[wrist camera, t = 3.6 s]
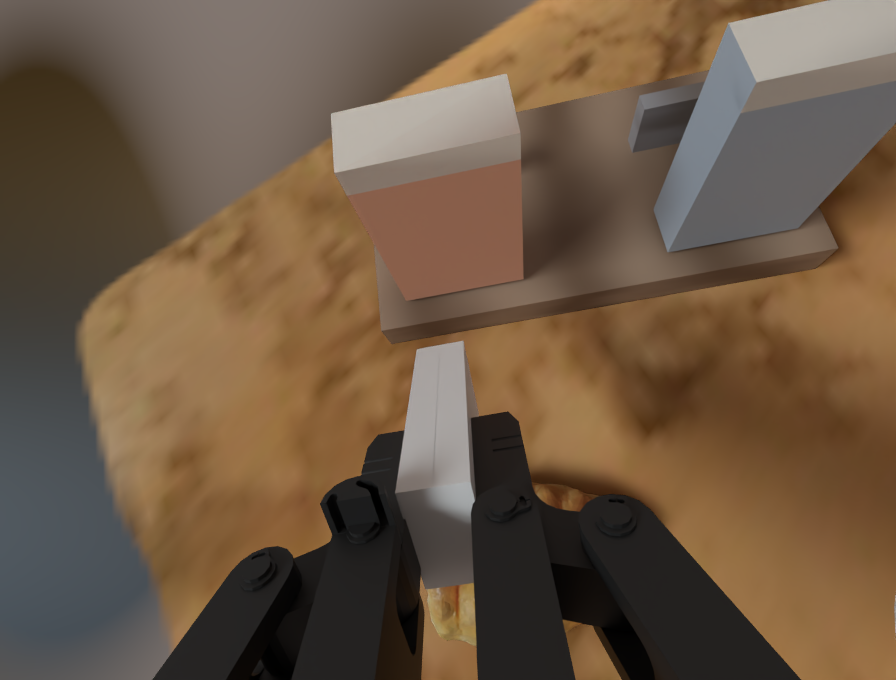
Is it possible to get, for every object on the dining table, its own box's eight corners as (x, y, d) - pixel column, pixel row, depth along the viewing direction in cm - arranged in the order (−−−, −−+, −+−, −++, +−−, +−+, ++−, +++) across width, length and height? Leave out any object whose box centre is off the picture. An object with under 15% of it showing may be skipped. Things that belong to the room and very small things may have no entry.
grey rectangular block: (778, 185, 24) (935, -24, 15) (797, 228, 23) (977, 34, 14) (653, 209, 25) (728, 23, 15) (667, 252, 24) (756, 82, 15)
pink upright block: (514, 236, 25) (506, 73, 16) (523, 279, 25) (520, 132, 15) (401, 258, 26) (331, 113, 17) (406, 301, 25) (334, 173, 16)
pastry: (618, 466, 23) (634, 457, 20) (653, 628, 21) (678, 652, 17) (424, 488, 24) (406, 484, 21) (436, 645, 22) (419, 671, 18)
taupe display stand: (735, 90, 29) (774, 9, 24) (815, 268, 25) (881, 210, 20) (375, 167, 31) (348, 106, 27) (391, 343, 27) (363, 307, 22)
